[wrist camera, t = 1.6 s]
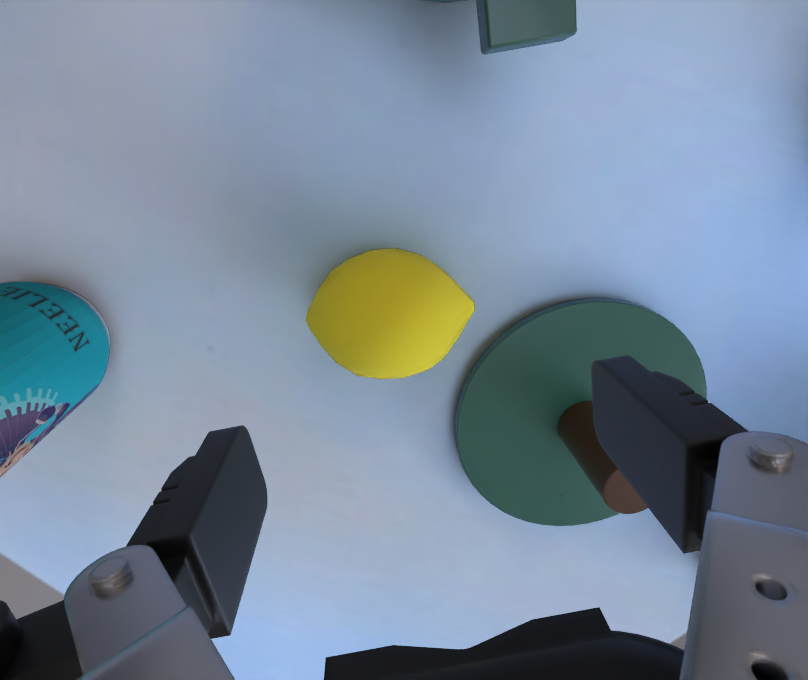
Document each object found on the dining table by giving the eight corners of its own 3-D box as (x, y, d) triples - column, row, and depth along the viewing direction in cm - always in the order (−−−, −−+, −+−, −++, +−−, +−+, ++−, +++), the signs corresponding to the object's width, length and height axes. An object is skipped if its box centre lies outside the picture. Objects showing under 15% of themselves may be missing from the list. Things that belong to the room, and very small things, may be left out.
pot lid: (467, 530, 29) (495, 629, 23) (436, 320, 24) (461, 376, 18) (687, 489, 29) (771, 577, 23) (698, 272, 24) (807, 313, 19)
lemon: (317, 355, 24) (306, 409, 19) (305, 242, 23) (288, 269, 17) (462, 344, 25) (487, 395, 20) (462, 233, 23) (490, 257, 18)
